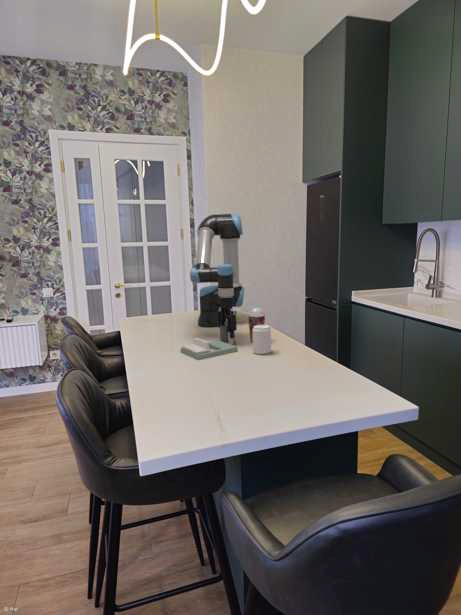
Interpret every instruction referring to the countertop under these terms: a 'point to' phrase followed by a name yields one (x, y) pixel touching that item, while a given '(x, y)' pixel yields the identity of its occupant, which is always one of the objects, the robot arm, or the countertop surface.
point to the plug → (224, 333)
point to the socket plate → (218, 350)
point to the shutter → (198, 346)
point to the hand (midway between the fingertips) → (227, 343)
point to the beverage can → (261, 339)
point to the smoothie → (255, 319)
